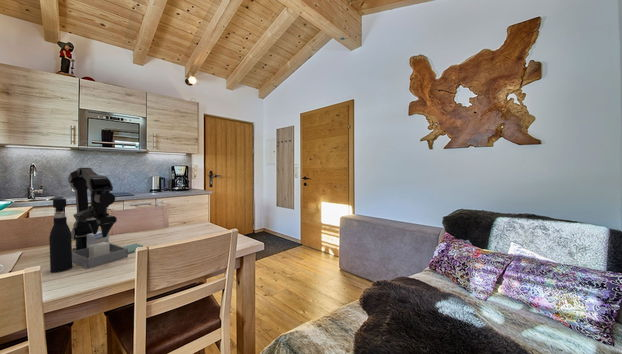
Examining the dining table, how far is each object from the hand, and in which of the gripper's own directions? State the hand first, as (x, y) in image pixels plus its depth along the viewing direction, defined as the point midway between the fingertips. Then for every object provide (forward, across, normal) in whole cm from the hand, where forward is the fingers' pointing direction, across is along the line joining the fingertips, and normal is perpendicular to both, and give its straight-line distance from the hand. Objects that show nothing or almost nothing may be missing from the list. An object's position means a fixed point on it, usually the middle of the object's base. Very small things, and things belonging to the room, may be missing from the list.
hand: (99, 235), depth 111 cm
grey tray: (+11, 0, 0) cm, 11 cm away
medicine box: (+11, -17, +6) cm, 21 cm away
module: (+11, 0, 0) cm, 11 cm away
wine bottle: (+11, 0, -13) cm, 17 cm away
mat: (+11, 0, +14) cm, 18 cm away
